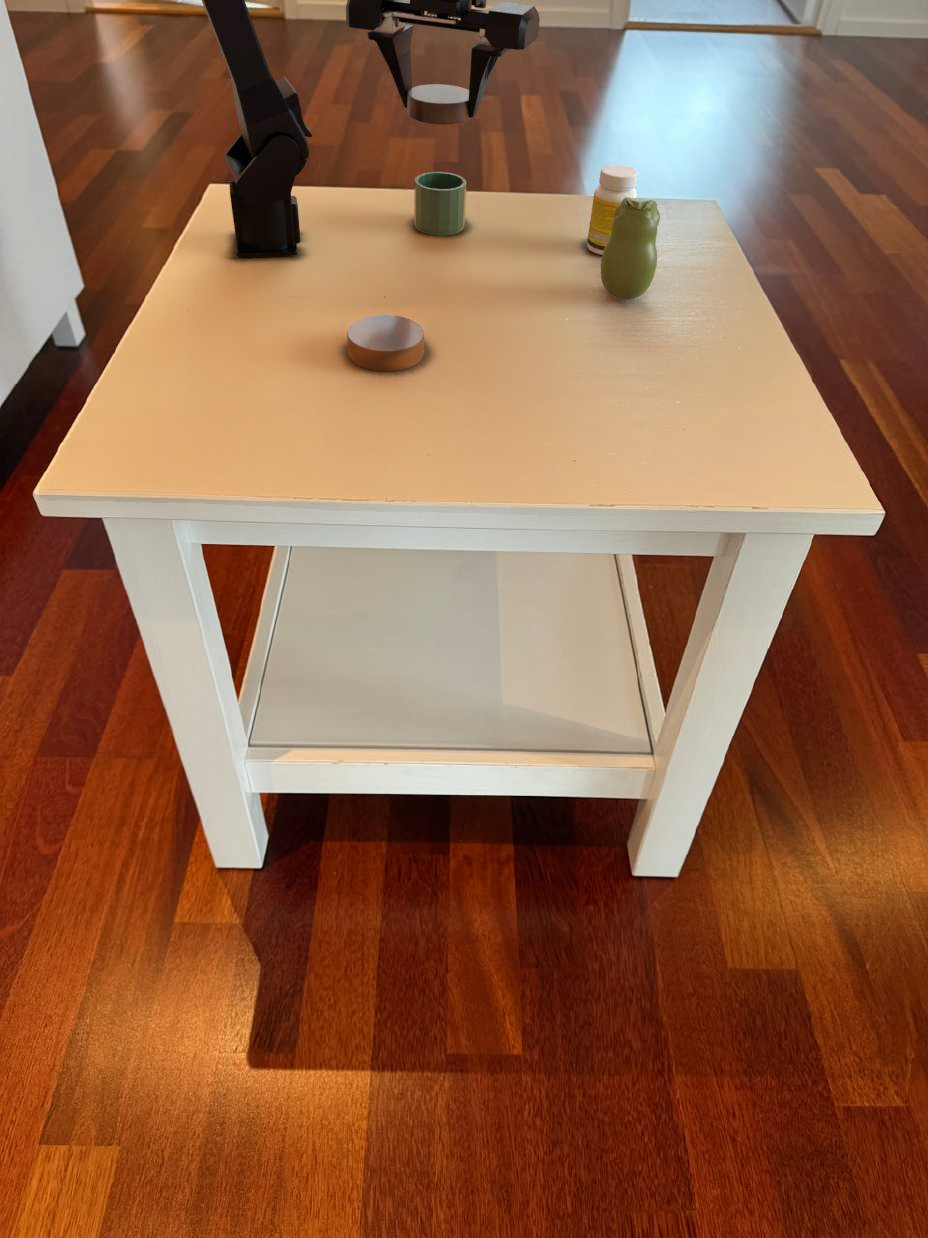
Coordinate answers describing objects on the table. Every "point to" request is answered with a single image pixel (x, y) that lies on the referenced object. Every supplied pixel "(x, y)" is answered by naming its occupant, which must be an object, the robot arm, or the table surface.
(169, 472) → the table surface
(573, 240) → the table surface
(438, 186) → the plastic cup
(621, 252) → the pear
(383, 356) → the teak chip
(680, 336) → the table surface
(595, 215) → the supplement bottle
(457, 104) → the walnut chip
